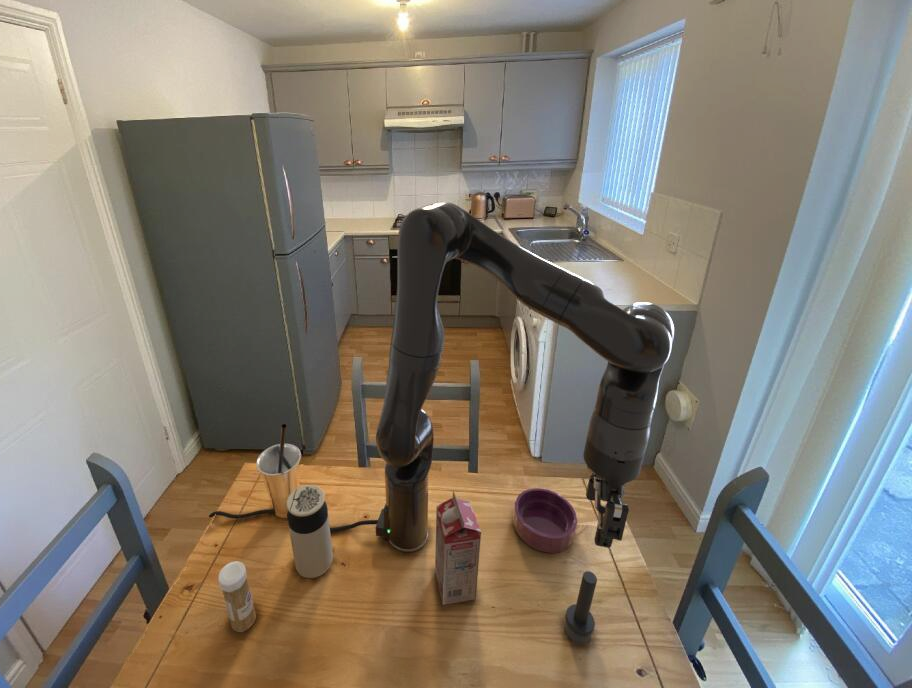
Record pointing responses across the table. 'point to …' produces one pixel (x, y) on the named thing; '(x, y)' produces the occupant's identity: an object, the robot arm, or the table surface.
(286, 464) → the metal cup with straw
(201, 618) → the table surface
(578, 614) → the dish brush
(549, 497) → the bowl
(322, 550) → the travel mug
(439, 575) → the juice carton
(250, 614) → the sprinkles bottle
